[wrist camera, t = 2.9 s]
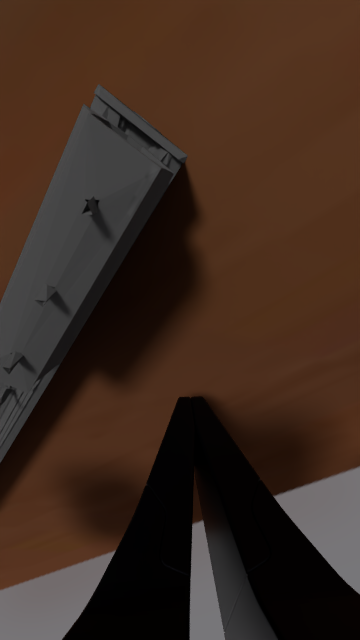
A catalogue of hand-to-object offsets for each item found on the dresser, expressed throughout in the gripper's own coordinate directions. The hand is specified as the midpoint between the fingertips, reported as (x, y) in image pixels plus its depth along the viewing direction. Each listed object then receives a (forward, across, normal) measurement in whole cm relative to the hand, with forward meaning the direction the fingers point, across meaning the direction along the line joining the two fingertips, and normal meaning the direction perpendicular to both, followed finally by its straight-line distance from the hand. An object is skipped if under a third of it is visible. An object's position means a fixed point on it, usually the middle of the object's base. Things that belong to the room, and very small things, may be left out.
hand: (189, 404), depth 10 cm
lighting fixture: (+2, +6, 0) cm, 6 cm away
